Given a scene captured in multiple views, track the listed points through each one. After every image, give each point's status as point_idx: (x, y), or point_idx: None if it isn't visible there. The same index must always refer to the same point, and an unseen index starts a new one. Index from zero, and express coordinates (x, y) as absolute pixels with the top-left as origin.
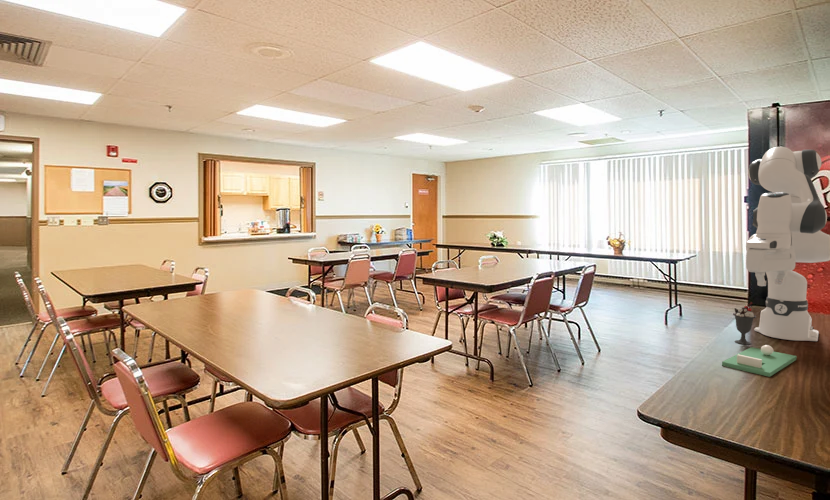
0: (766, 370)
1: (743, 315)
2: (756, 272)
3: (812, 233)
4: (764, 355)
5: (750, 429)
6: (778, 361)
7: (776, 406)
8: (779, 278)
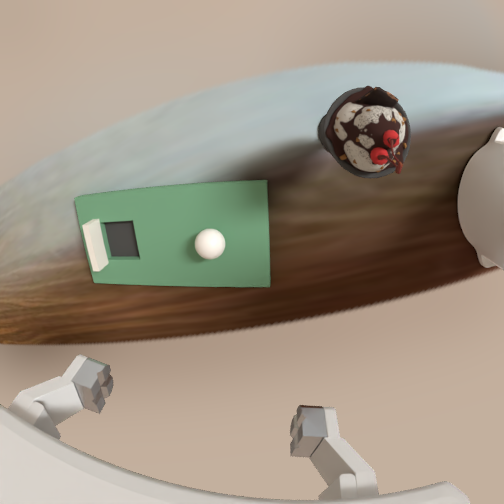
0: (100, 274)
1: (342, 137)
2: (12, 411)
3: None
4: None
5: None
6: (180, 273)
7: (27, 309)
8: (319, 449)
